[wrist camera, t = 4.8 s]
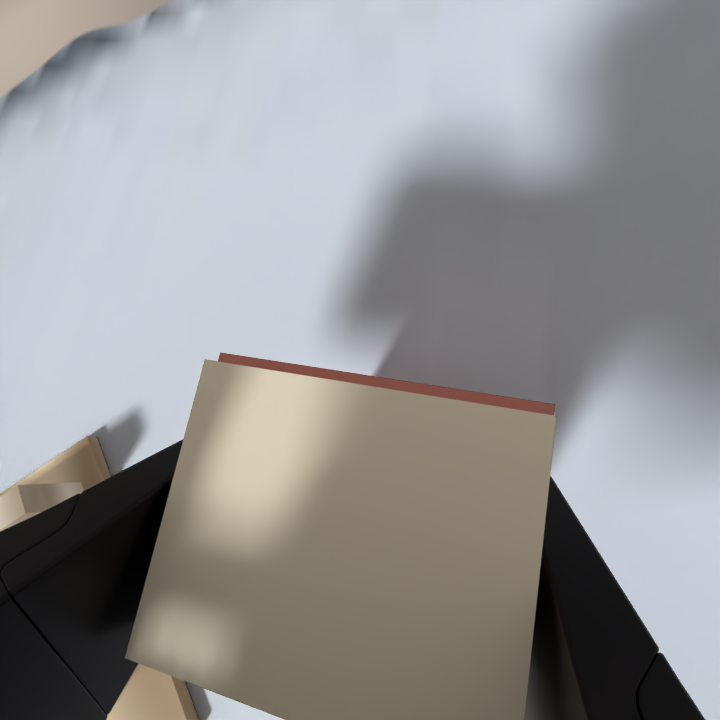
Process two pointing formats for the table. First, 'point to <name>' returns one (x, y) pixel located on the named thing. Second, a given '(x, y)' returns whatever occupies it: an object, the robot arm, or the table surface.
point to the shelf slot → (52, 486)
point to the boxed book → (350, 546)
